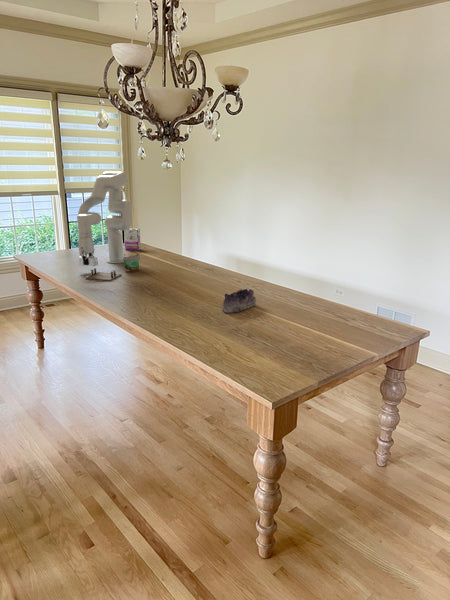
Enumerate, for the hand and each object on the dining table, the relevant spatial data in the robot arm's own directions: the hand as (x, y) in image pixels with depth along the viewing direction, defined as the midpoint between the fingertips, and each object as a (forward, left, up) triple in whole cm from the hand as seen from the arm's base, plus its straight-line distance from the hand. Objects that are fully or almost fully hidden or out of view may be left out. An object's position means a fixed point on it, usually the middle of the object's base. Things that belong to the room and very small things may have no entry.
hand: (88, 263), depth 271 cm
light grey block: (0, 0, -1) cm, 1 cm away
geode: (+36, +106, -6) cm, 112 cm away
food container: (-12, +25, -6) cm, 28 cm away
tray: (+8, +15, -6) cm, 18 cm away
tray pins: (+8, +15, -5) cm, 18 cm away
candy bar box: (-72, -7, -6) cm, 73 cm away
